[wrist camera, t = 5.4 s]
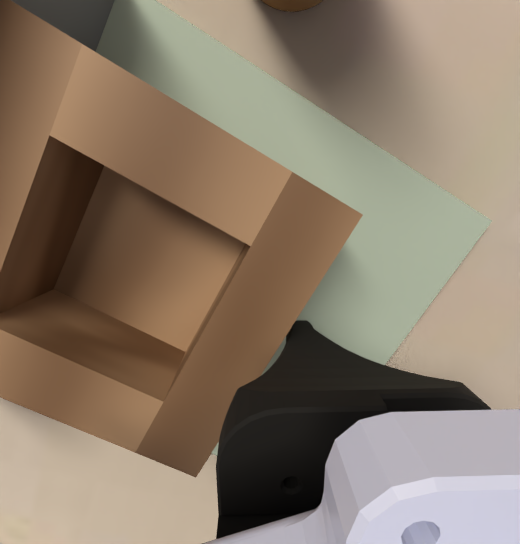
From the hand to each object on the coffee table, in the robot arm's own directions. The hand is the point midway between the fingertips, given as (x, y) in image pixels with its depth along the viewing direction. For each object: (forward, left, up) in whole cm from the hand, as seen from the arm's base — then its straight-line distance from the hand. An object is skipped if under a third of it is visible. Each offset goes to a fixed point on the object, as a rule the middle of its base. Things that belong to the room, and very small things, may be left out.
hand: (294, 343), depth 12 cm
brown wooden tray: (+7, 0, -1) cm, 7 cm away
